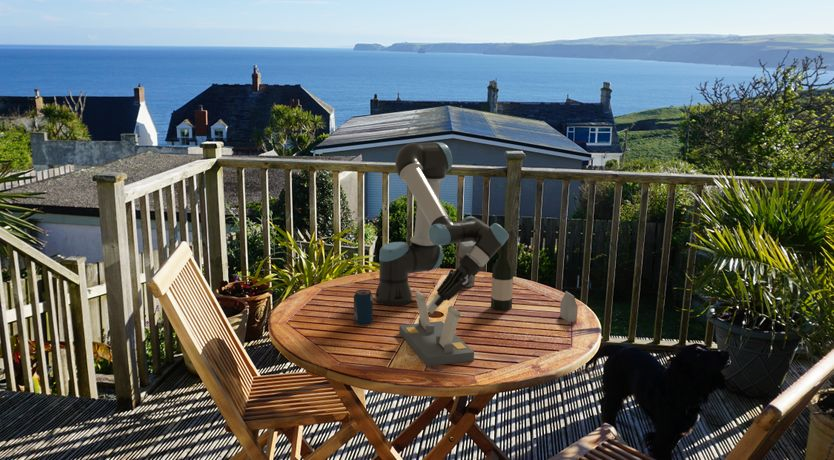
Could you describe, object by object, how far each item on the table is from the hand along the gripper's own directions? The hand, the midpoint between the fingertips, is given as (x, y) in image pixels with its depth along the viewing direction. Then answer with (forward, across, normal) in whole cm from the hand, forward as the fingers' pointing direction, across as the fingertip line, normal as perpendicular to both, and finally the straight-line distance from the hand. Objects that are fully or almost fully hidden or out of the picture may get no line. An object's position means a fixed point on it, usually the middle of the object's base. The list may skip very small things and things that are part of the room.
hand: (428, 311), depth 237 cm
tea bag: (-34, +3, -48) cm, 59 cm away
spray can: (-19, +54, -33) cm, 66 cm away
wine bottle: (-21, +22, -35) cm, 46 cm away
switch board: (+7, -8, -6) cm, 13 cm away
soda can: (+20, +21, +6) cm, 29 cm away
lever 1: (+5, 0, -4) cm, 6 cm away
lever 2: (+5, -18, -4) cm, 19 cm away
